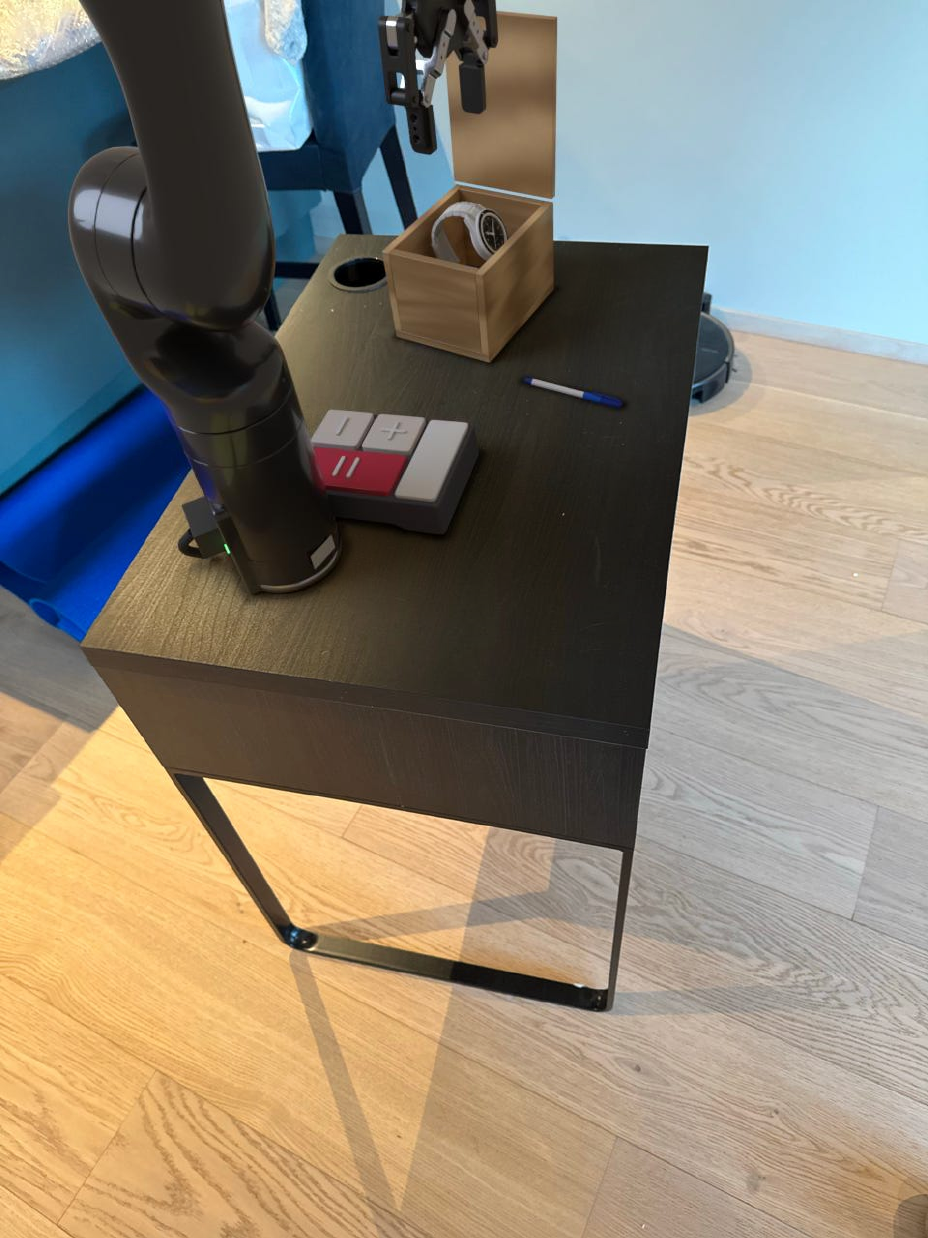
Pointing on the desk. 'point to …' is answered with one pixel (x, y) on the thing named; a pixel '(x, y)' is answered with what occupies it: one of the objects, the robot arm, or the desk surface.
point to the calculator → (395, 467)
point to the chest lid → (510, 110)
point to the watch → (471, 231)
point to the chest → (471, 275)
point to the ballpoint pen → (577, 393)
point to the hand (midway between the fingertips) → (450, 131)
